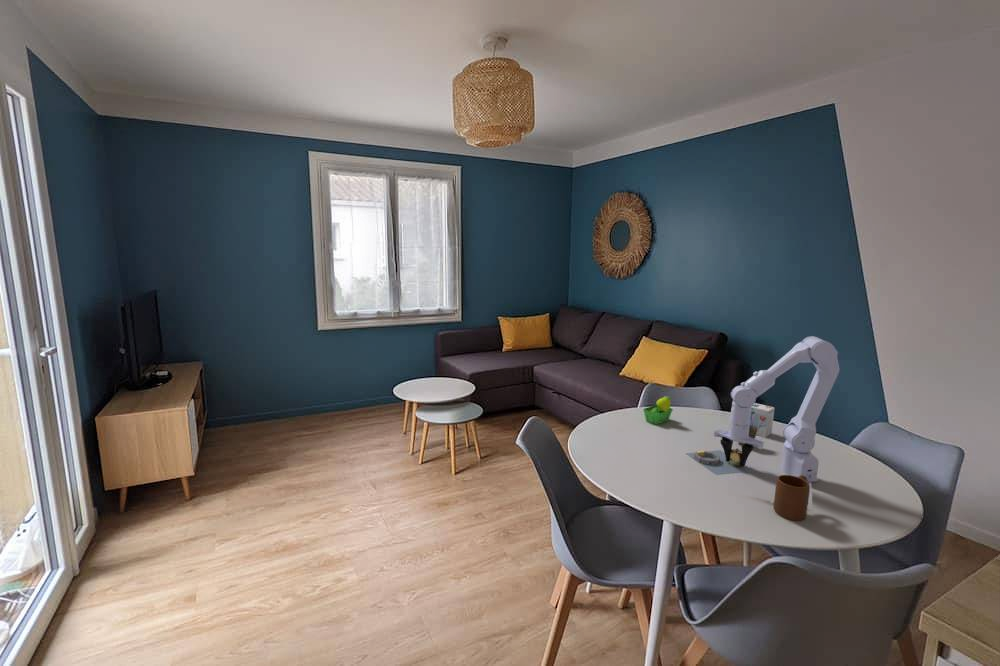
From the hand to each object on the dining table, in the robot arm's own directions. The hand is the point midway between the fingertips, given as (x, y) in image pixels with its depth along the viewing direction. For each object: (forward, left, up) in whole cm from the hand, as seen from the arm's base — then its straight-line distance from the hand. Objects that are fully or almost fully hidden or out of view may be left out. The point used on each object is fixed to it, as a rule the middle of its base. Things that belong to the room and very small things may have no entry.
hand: (735, 462), depth 154 cm
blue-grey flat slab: (+3, +4, -2) cm, 5 cm away
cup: (+14, -15, -2) cm, 21 cm away
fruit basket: (+44, +1, -2) cm, 44 cm away
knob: (0, 0, -1) cm, 1 cm away
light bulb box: (+26, -30, -2) cm, 40 cm away
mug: (-26, +3, -2) cm, 26 cm away
